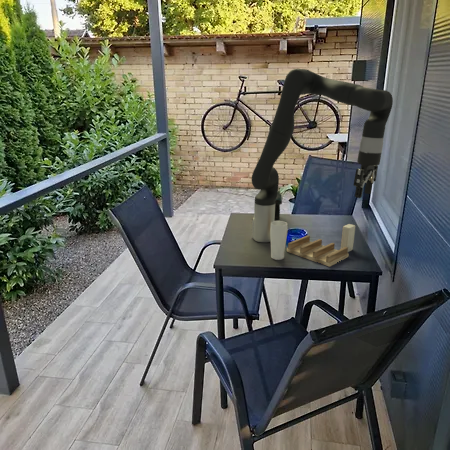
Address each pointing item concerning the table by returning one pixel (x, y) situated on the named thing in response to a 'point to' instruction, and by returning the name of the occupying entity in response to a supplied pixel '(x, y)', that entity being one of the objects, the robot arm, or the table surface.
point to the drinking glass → (278, 239)
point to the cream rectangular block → (348, 236)
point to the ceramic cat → (278, 206)
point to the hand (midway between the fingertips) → (362, 195)
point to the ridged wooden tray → (317, 251)
